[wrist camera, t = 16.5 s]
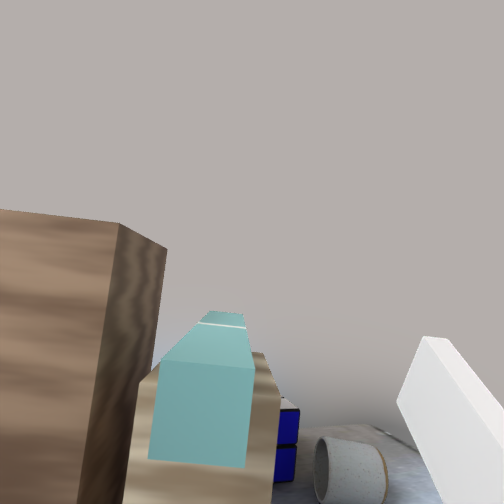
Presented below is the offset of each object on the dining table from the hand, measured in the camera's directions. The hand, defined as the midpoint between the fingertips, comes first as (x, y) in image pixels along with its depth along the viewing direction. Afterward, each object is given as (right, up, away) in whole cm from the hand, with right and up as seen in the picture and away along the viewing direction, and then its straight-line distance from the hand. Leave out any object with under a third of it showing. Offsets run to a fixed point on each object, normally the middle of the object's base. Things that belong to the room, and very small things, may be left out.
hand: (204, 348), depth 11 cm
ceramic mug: (+13, -30, +36) cm, 49 cm away
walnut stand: (-18, -25, +20) cm, 37 cm away
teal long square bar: (-2, -7, +17) cm, 19 cm away
